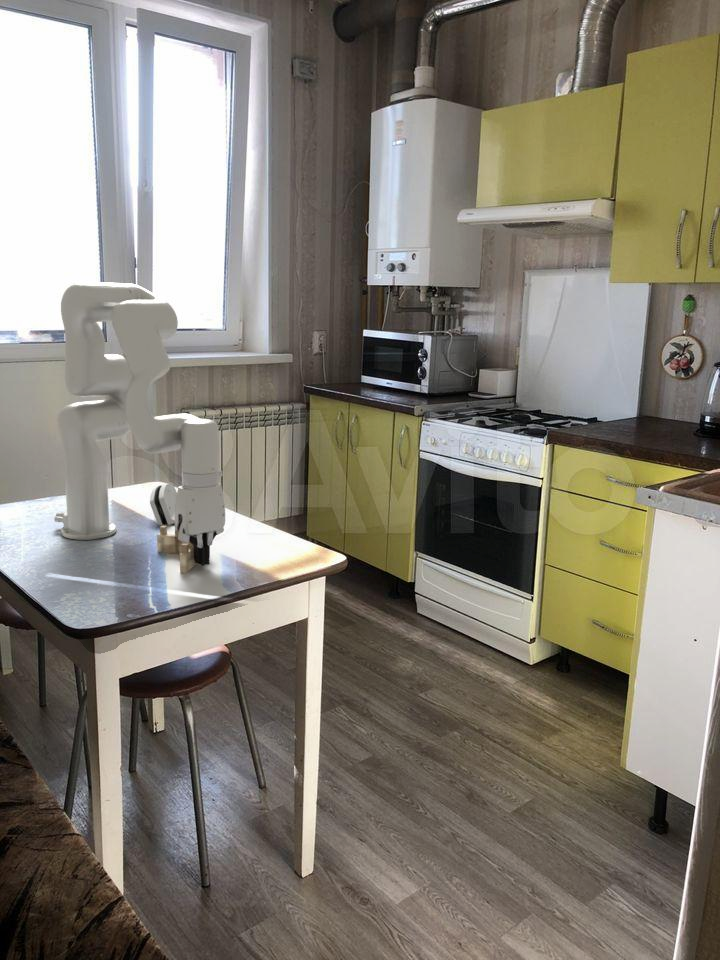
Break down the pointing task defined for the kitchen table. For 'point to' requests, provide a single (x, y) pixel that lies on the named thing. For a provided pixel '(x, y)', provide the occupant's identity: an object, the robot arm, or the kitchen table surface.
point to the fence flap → (187, 557)
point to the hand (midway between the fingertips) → (201, 563)
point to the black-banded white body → (164, 503)
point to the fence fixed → (168, 541)
